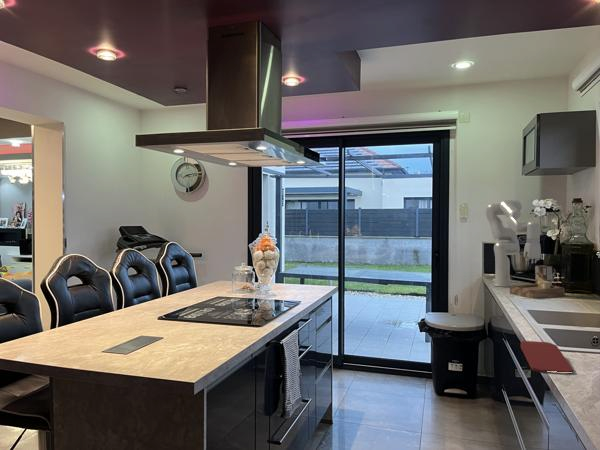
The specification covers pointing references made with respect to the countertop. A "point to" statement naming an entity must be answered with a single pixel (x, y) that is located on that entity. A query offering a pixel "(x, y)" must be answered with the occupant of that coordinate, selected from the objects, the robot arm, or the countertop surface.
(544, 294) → the wooden cutting board
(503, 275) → the robot arm
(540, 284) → the maple block
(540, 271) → the coffee box
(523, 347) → the dark red flat piece
